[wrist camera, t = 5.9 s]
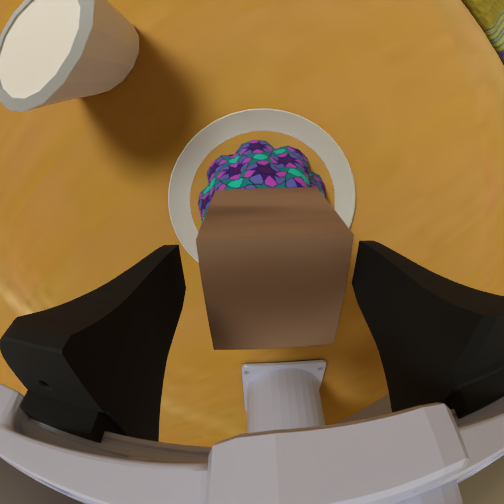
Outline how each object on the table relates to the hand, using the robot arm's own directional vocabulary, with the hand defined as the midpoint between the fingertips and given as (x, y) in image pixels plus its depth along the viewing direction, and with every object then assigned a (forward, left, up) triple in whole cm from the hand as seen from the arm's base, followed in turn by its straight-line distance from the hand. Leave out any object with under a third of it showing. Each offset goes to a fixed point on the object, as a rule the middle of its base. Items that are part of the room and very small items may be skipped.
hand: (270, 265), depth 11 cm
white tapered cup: (+11, +10, -8) cm, 17 cm away
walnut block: (0, 0, -3) cm, 3 cm away
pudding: (0, 0, -8) cm, 8 cm away
